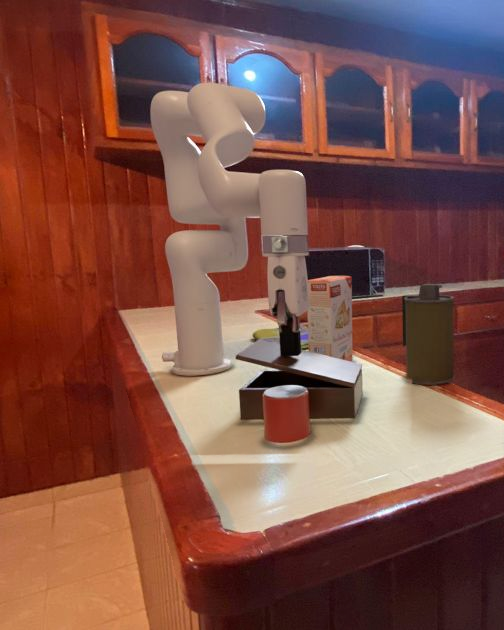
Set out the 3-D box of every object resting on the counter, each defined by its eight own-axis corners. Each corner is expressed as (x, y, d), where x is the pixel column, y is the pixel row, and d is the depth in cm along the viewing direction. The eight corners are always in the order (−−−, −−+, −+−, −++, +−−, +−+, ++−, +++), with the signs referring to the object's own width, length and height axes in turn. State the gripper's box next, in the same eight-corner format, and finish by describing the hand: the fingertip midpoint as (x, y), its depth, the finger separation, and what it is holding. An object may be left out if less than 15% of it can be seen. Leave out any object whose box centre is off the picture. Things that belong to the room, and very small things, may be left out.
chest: (240, 424, 86) (238, 389, 85) (263, 400, 98) (261, 369, 98) (355, 422, 86) (354, 388, 85) (362, 399, 98) (362, 368, 98)
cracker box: (334, 376, 114) (331, 280, 111) (308, 375, 116) (304, 279, 113) (354, 361, 128) (352, 275, 125) (331, 360, 129) (328, 274, 126)
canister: (460, 374, 115) (460, 282, 112) (446, 387, 105) (446, 287, 102) (413, 370, 119) (412, 281, 116) (396, 382, 109) (394, 286, 106)
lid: (235, 359, 84) (236, 354, 84) (258, 343, 97) (259, 339, 97) (353, 388, 85) (354, 383, 85) (361, 368, 98) (362, 364, 97)
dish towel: (271, 353, 138) (271, 342, 137) (251, 338, 159) (250, 329, 158) (335, 345, 146) (334, 335, 146) (307, 332, 167) (307, 323, 167)
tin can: (259, 448, 76) (256, 398, 75) (271, 431, 83) (269, 385, 81) (305, 447, 76) (303, 397, 75) (314, 430, 83) (312, 384, 82)
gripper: (298, 247, 81) (303, 365, 83) (316, 246, 95) (320, 345, 98) (248, 248, 80) (256, 365, 83) (274, 246, 95) (280, 346, 98)
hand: (290, 354), depth 91 cm, fingers closed
